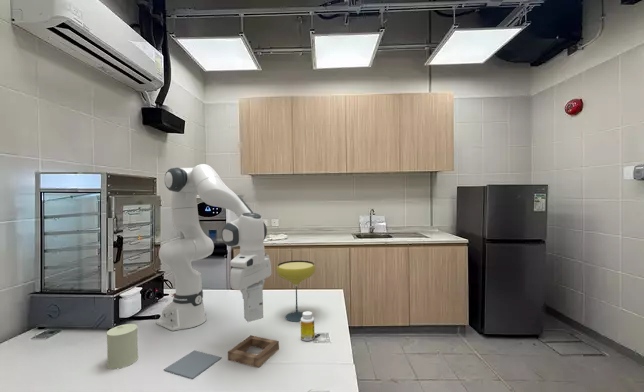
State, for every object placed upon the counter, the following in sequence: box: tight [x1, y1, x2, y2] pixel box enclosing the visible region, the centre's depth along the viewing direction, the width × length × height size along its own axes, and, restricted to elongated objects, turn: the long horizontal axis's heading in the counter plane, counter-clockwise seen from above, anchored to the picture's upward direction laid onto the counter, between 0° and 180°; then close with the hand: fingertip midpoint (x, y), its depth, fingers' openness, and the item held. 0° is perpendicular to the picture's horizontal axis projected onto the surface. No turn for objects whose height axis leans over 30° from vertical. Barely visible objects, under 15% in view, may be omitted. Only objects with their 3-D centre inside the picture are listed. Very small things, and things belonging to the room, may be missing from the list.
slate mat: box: [163, 350, 222, 380], centre depth 102 cm, size 13×13×1 cm
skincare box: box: [243, 282, 264, 323], centre depth 108 cm, size 6×4×12 cm
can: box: [106, 323, 139, 370], centre depth 105 cm, size 9×9×12 cm
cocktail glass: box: [276, 260, 316, 323], centre depth 141 cm, size 18×18×25 cm
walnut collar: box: [227, 335, 280, 368], centre depth 108 cm, size 13×13×3 cm
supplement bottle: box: [300, 311, 315, 342], centre depth 119 cm, size 6×6×10 cm
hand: (253, 295), depth 108 cm, fingers closed on skincare box, 7 cm apart
